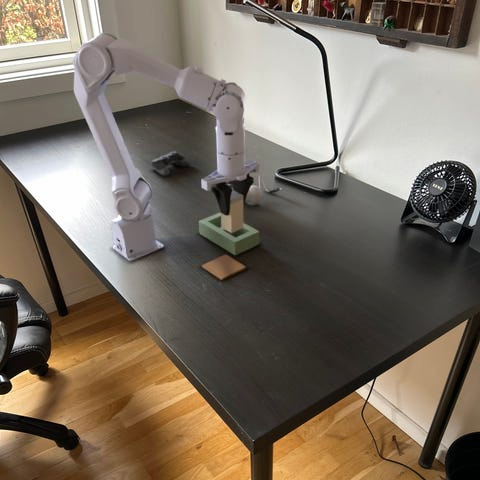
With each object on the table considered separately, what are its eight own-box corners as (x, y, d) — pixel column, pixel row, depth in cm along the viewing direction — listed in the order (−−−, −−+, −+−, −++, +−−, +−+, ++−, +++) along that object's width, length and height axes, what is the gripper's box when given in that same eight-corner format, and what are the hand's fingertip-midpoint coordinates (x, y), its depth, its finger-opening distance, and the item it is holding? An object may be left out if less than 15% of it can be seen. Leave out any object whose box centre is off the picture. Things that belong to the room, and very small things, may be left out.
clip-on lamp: (261, 194, 145) (208, 196, 136) (264, 172, 142) (210, 172, 133) (285, 206, 137) (230, 208, 127) (289, 183, 134) (233, 184, 124)
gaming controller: (166, 177, 147) (161, 160, 145) (149, 176, 152) (145, 160, 149) (192, 164, 155) (188, 148, 152) (176, 164, 159) (171, 148, 157)
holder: (235, 255, 114) (234, 242, 112) (199, 233, 122) (198, 221, 120) (259, 244, 118) (259, 231, 116) (222, 223, 126) (222, 211, 124)
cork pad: (221, 280, 106) (221, 278, 106) (202, 267, 110) (201, 265, 110) (245, 268, 110) (245, 266, 110) (225, 256, 114) (225, 254, 114)
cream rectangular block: (231, 233, 110) (230, 200, 105) (221, 227, 112) (220, 194, 107) (243, 228, 111) (243, 195, 106) (233, 222, 114) (232, 189, 108)
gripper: (215, 165, 94) (218, 228, 103) (269, 146, 102) (268, 206, 110) (193, 155, 98) (197, 216, 107) (247, 137, 106) (246, 196, 114)
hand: (231, 210), depth 109 cm, fingers closed on cream rectangular block, 3 cm apart
